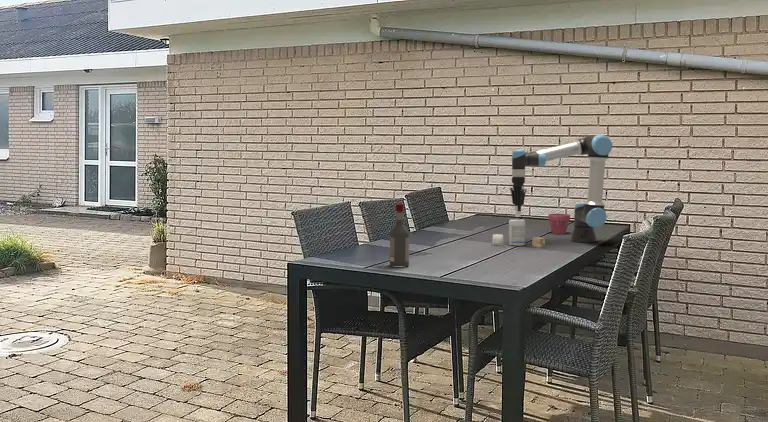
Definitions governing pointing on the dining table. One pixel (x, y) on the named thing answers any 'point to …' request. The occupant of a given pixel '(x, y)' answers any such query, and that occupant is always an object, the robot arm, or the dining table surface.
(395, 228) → the liquor
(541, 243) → the oak block
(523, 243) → the supplement tub
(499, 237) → the white cube
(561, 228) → the plant pot
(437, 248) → the dining table surface
